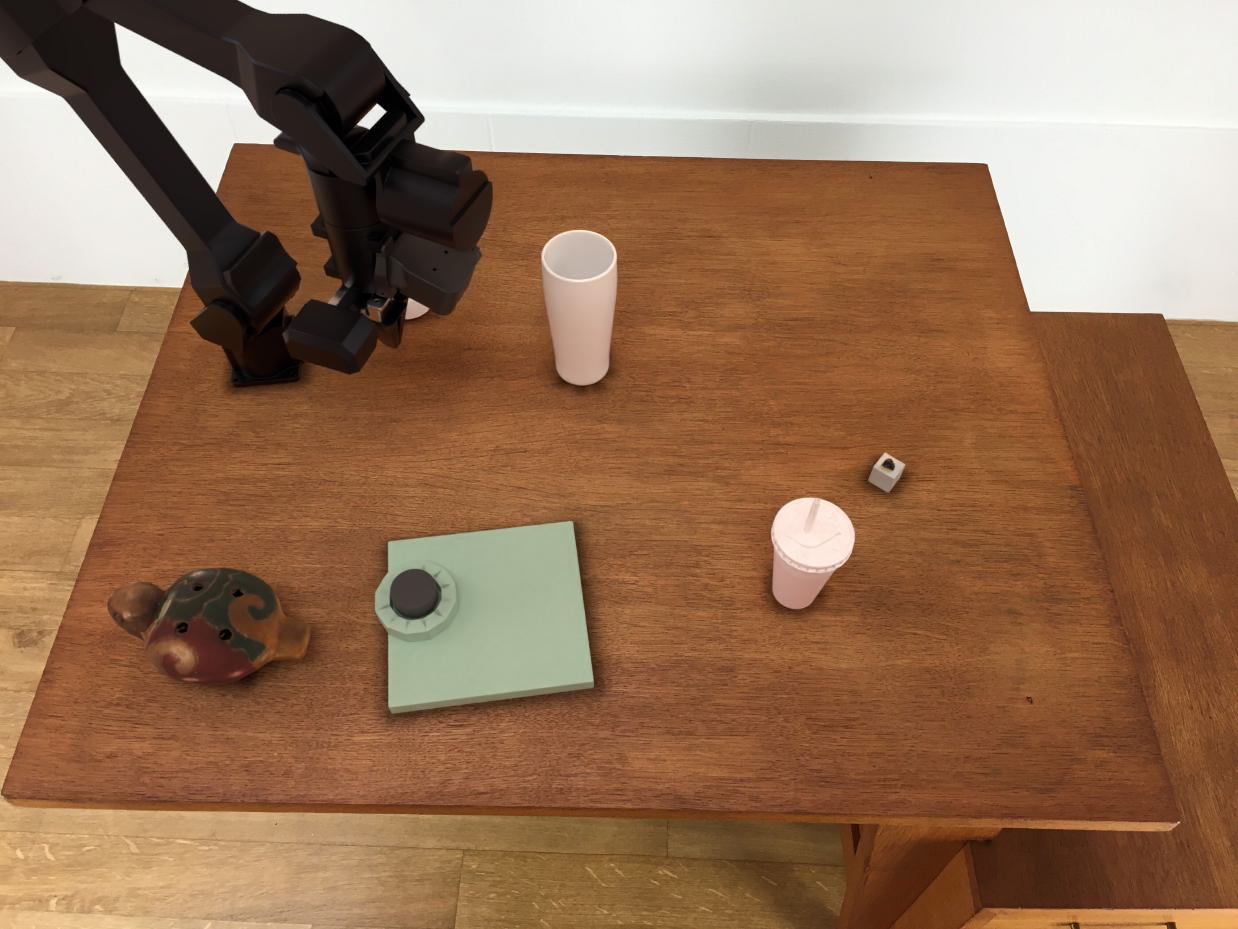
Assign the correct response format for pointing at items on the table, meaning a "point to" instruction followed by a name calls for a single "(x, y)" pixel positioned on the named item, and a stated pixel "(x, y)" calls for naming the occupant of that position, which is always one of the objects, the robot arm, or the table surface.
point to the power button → (414, 593)
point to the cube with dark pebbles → (886, 472)
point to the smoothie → (808, 549)
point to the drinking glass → (580, 302)
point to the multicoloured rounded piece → (209, 625)
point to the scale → (488, 618)
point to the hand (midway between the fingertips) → (393, 345)
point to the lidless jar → (415, 309)
